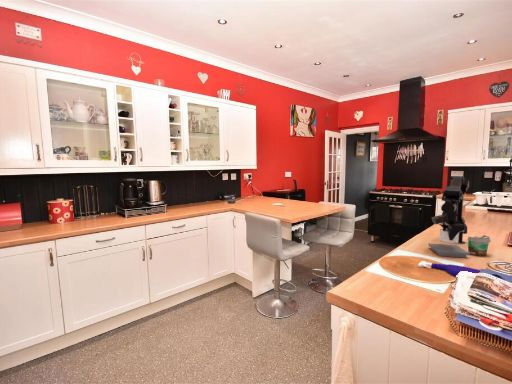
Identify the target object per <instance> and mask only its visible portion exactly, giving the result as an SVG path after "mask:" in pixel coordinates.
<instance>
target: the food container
mask: <svg viewBox="0 0 512 384" xmlns="http://www.w3.org/2000/svg"><path fill="white" fill-rule="evenodd" d="M491 242H492V241H491V237H490V236H488V235H486V234H483V235H482V236H468V237H467V243H468V245H467V248H468V249H467V252H469V253H470V255H469V256H475V257H487V254H488V249H489V245H490V243H491Z"/></svg>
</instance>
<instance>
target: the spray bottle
mask: <svg viewBox="0 0 512 384" xmlns="http://www.w3.org/2000/svg"><path fill="white" fill-rule="evenodd" d="M417 267H418V268H420V267H422V268H424V267H425V268H428V269H431V268H432V269H436V270H439V271H440V270H441V271H444V270H445V271H444V272H446V271H447V272H446V273H447V274H449V275H450V274H451V276H452V275H453V276H452V277H455V276H456V275H457V274H458V273H459V272H460V271H468V272H472V273H479V272H480V270H481V269H477V268H472V267H467V266H462V265H457V264H456V265H455V264H450V263H448V264H444V263H432V262H427V261H425V260H422V261H420V262H419V263H418V264H417Z"/></svg>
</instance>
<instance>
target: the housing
mask: <svg viewBox="0 0 512 384" xmlns="http://www.w3.org/2000/svg"><path fill="white" fill-rule="evenodd" d="M438 238H439V239H438V240H439V241H441V242H442V243H454V244H458V240H459V233H458V234H457V235H456V236H455V238H454V239H453V240H450V238H449V230H448V229H447V228H446V229H443V228H440V229H439V235H438Z"/></svg>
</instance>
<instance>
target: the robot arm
mask: <svg viewBox="0 0 512 384" xmlns="http://www.w3.org/2000/svg"><path fill="white" fill-rule="evenodd" d="M469 188H470V181H469V179H467V178H465V177H464V176H461V175H460V176H459V175H458V176H457V175H455V176H453V177H452V179H451V180H450V185H449V186H446V187H445V188H444V190H443V192H442V196H441V202H444V203H442V205H441V206H440V208H441V209H440V210H441V214H439V215H435V216H431V221H432V223H433V224H435V225H439V226H440V227H441V229H446V228H447V229H448V230H449V238H450V240H453V239H454V238H455V236H456V235H457V234H458V233H459V240H458V243H459V244H465V243H466V242H465V241H464V240H463V235H466V234H468V226H467V224H466V220H465V219H464V217H463V211H464V195H465V193H466V192H467V191H468V189H469ZM458 243H457V244H458Z"/></svg>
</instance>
